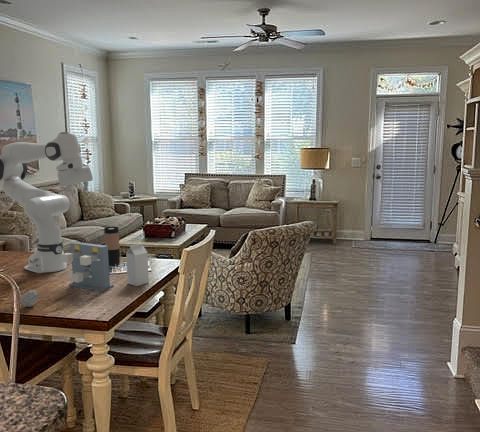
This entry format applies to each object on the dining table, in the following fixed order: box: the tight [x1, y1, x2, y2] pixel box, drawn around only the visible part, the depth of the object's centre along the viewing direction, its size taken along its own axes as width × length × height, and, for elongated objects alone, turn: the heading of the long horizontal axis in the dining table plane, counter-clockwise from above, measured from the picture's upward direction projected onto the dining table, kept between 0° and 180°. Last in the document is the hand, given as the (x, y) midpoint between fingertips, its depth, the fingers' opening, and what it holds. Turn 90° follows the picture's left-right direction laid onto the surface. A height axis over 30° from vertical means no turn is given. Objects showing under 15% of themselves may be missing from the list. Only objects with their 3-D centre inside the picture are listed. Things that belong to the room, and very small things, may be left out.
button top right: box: [80, 253, 100, 266], centre depth 212 cm, size 4×10×4 cm, turn 153°
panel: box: [68, 241, 115, 292], centre depth 219 cm, size 20×8×20 cm, turn 63°
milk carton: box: [125, 242, 150, 287], centre depth 223 cm, size 7×7×19 cm
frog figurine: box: [20, 289, 39, 308], centre depth 194 cm, size 6×7×7 cm
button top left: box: [62, 251, 81, 264], centre depth 217 cm, size 4×10×4 cm, turn 153°
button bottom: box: [71, 270, 91, 283], centre depth 216 cm, size 4×10×4 cm, turn 153°
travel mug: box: [103, 226, 121, 266], centre depth 258 cm, size 8×8×20 cm
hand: (79, 192), depth 232 cm, fingers open, 8 cm apart
